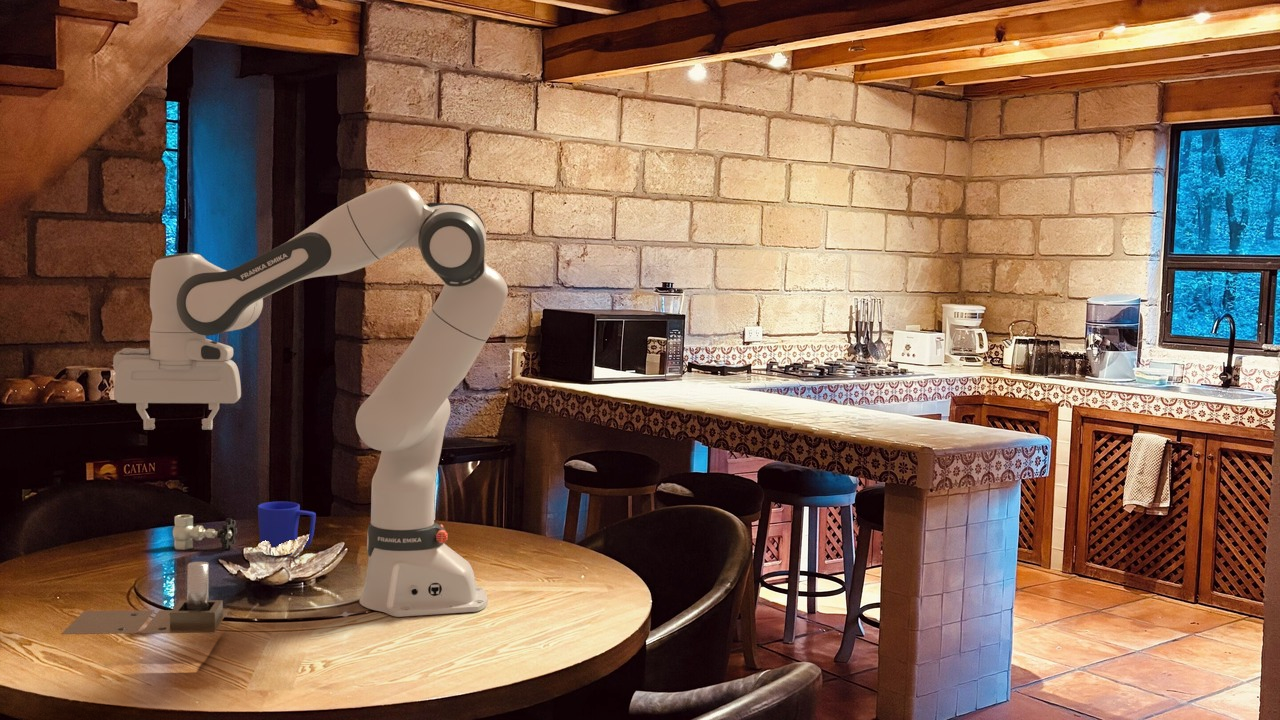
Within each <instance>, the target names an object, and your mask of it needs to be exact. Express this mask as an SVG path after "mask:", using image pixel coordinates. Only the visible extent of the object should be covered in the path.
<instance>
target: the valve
mask: <svg viewBox="0 0 1280 720" xmlns="http://www.w3.org/2000/svg"><path fill="white" fill-rule="evenodd" d="M225 522H226V523H227V524H224V523H223V524H222V527H221V528H219V529H218V530H216V529H214V528H204V526H203V525H196V526H194V516H193V515H192V514H178V515H175V516H174V527H173V529H172V536H173V538H174V544H173V545H174V549H175V550H189V549H193V548H194V547H193V546H194V541H193V539H194V540H195V541H202V540H203V538H205V537H206V538H207V539H215V537H217V539H219V540H220V543H221V548H222V549H224V550H225V551H231V550H232V549H233V545H236V538H235V536H236V535H237V533H238V529H237V528H235V526H236V524H237V522H236V520H233V518H228V517H227V518H226V519H225Z"/></svg>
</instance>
